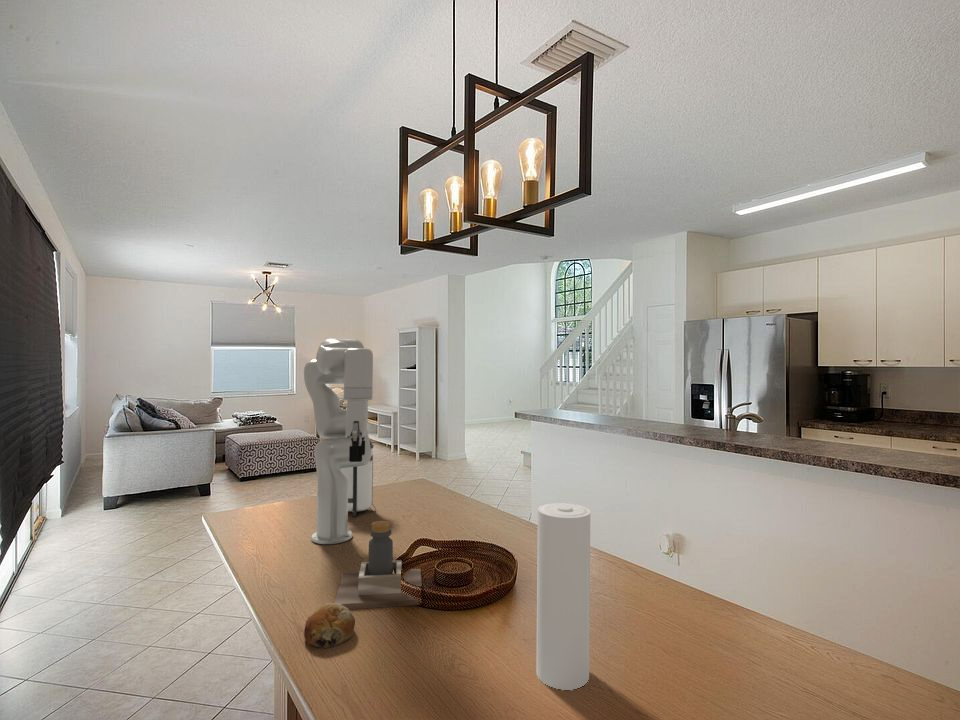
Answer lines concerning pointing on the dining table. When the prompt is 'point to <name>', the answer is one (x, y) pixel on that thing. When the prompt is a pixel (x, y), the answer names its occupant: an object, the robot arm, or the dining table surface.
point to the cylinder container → (563, 595)
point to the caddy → (376, 588)
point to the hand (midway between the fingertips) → (357, 458)
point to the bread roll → (329, 625)
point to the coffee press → (360, 486)
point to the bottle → (380, 549)
